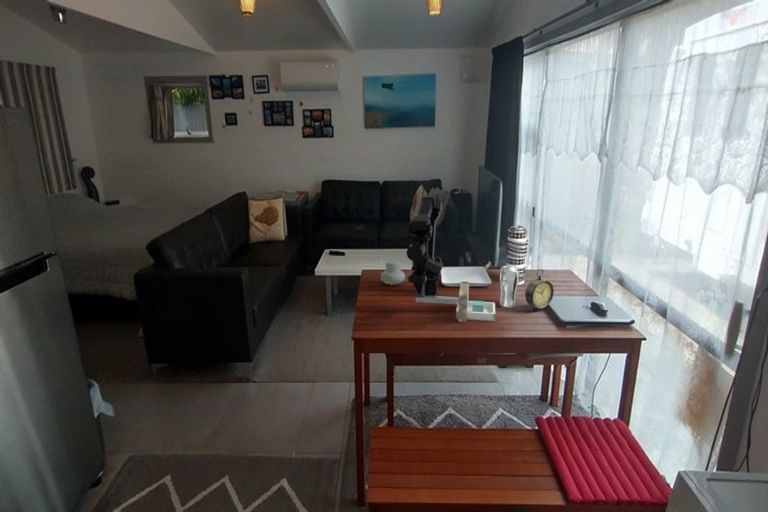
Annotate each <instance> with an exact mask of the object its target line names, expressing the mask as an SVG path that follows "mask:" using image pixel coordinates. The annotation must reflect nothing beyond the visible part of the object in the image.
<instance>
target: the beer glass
mask: <svg viewBox="0 0 768 512" xmlns="http://www.w3.org/2000/svg"><path fill="white" fill-rule="evenodd" d="M518 270H519V269H518V268H517V267H513V266H506V265H504V266H503V265H502V266H501V268H500V272H499V286H500V287H499V288H500V300H499V306H501V307H502V308H508V309H511V308H514V307H516V293H517V289H518V286H519V285H518V279H519V272H518Z"/></svg>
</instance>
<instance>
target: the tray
mask: <svg viewBox="0 0 768 512" xmlns="http://www.w3.org/2000/svg"><path fill="white" fill-rule="evenodd" d="M473 301H474V300H468V303H467V321H478V320H479V321H481V322H493V323H494V322H495V321H496V303H495V302H489V301H484V309H483V312H472V307H473ZM458 311H459V304H456V309H455V319H456V320H458Z"/></svg>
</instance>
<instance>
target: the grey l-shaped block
mask: <svg viewBox="0 0 768 512" xmlns="http://www.w3.org/2000/svg"><path fill="white" fill-rule="evenodd" d="M424 288H425V283H423V286H422V291H421V294H418V293H417V291H416V290H415V302H416V303H432V304H445V305H446V304H447V305H457V304H459V296H458V297H456V296H441V295H435V296H427V295H424Z"/></svg>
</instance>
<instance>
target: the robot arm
mask: <svg viewBox="0 0 768 512" xmlns="http://www.w3.org/2000/svg"><path fill="white" fill-rule="evenodd" d="M441 213H443V202H442V200H440V199H437V198H436V197H434V196H423V197H421V199H420V206H419V210H418V213H417V215H416V216H413V217H412V219H411V220H410V221H411V222H409V224H408V225H409V226H408V229H407V230H408V232H407V238H406V240H407V241H411V243H410V245H409V247H408V248H407V249H406V256H407V257H406V258H408V259H409V260H410V261H411V262H412V264H411V265H412V267H411V272H410V273H409V274H408V276H407V277H408V278H407V280H408V281H407V282H408V283H411V284H412V285H413V286H414V288H415V292H416V291H417V293H418V294H421V291H422V286H423V283H425V288H424V295H427V296H437V293H438V282H439V281H440V280H441V273H440V272H441V270H442V267H444V263H443V262H442V258H441V257H439V256H436V258H435V244H436V243H435V242H436V230H437V228H436V227H437V222H438V220H439V219H440V217H441Z"/></svg>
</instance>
